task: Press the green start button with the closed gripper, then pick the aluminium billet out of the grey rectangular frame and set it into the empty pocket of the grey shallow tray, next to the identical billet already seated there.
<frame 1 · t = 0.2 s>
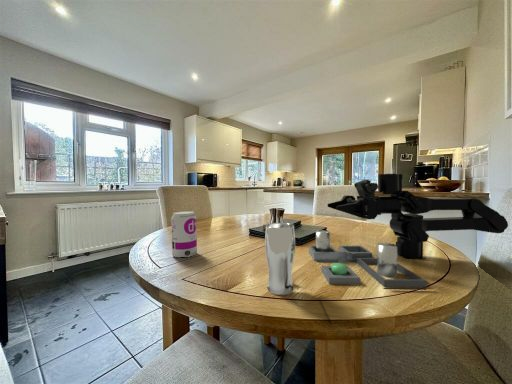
hand: (331, 206, 69), 17 cm above the table, tool horizontal, fingers open, 9 cm apart
supplement can: (185, 255, 73), on the table
grey shallow tray: (338, 259, 67), on the table
grey rectangular frame: (386, 277, 54), on the table
billet: (386, 275, 54), resting on grey rectangular frame
button housing: (339, 281, 52), on the table
start button: (339, 269, 52), point 3 cm above the table, slide at 0.0 cm
silver vase: (280, 289, 49), on the table
seated billet: (322, 256, 67), point 1 cm above the table, touching grey shallow tray
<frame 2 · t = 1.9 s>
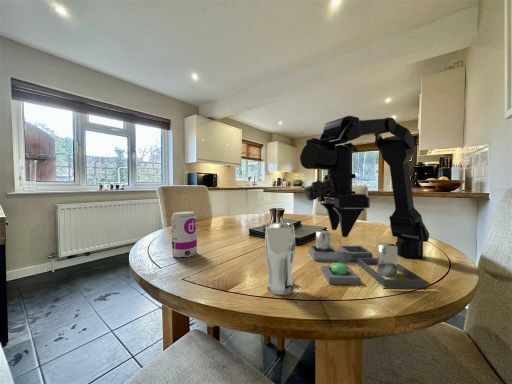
hand: (339, 233, 52), 12 cm above the table, tool pointing down, fingers open, 7 cm apart
nothing on the table moved.
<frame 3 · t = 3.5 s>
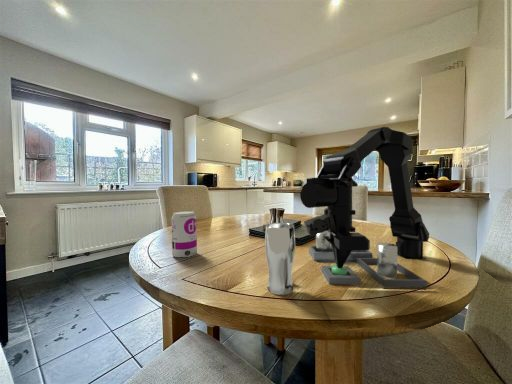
hand: (339, 267, 52), 4 cm above the table, tool pointing down, fingers closed, pressing on start button
start button: (339, 271, 52), point 3 cm above the table, slide at 0.5 cm, touching gripper
everything else where it was.
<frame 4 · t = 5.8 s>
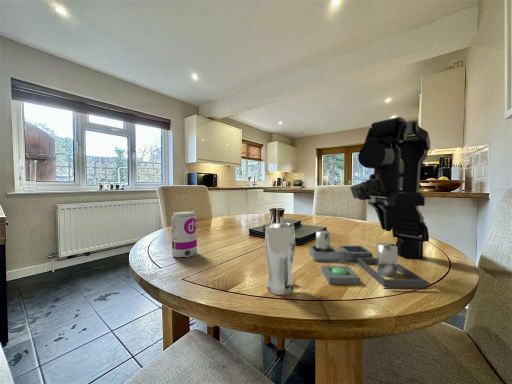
hand: (386, 230, 54), 12 cm above the table, tool pointing down, fingers closed
start button: (339, 274, 52), point 2 cm above the table, slide at 1.1 cm
everything else where it was.
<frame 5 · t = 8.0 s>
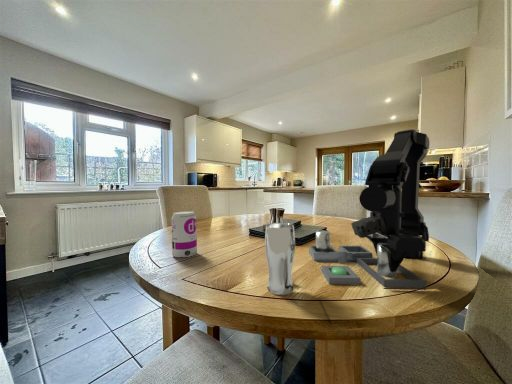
hand: (386, 267, 54), 3 cm above the table, tool pointing down, fingers closed on billet, 4 cm apart
billet: (386, 275, 54), resting on grey rectangular frame, touching gripper
everything else where it was.
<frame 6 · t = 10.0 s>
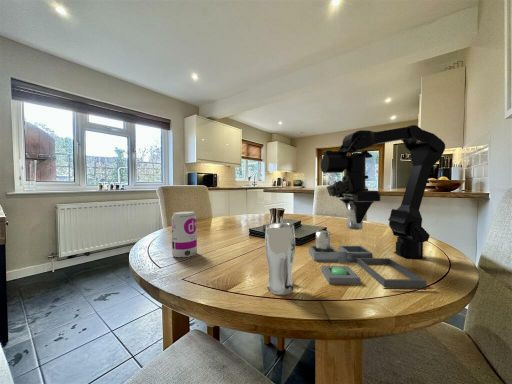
hand: (355, 221, 66), 12 cm above the table, tool pointing down, fingers closed on billet, 4 cm apart
billet: (354, 228, 66), point 10 cm above the table, touching gripper
everything else where it was.
when the fingers open (4 cm above the table, at t = 12.1 s): billet drops 1 cm, resting on grey shallow tray.
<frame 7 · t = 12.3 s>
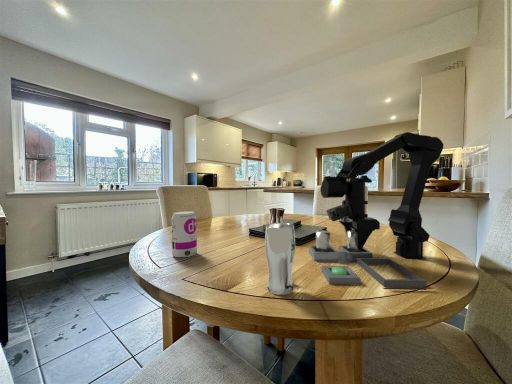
hand: (354, 246, 66), 4 cm above the table, tool pointing down, fingers open, 7 cm apart
billet: (354, 256, 67), point 1 cm above the table, touching grey shallow tray
everything else where it was.
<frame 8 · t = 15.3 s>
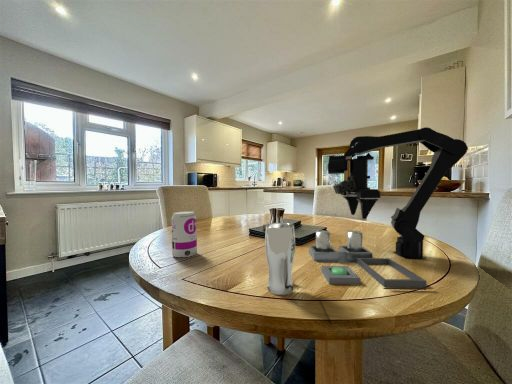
hand: (358, 216, 75), 13 cm above the table, tool pointing down, fingers open, 9 cm apart
nothing on the table moved.
at the end: billet 0.0 cm from the target spot, point 1.0 cm above the table; billet tilted 1°; start button slide at 1.1 cm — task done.
